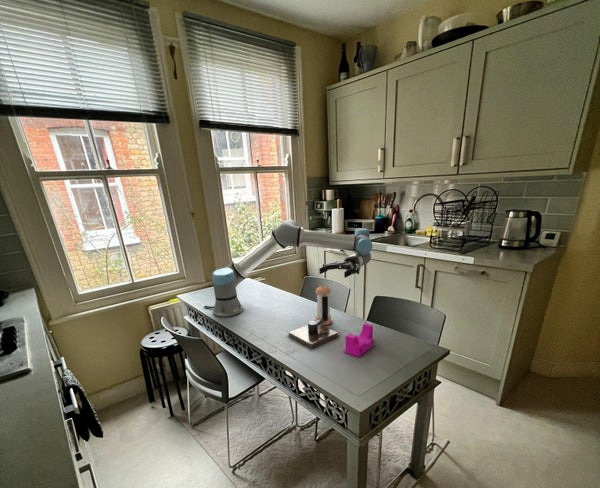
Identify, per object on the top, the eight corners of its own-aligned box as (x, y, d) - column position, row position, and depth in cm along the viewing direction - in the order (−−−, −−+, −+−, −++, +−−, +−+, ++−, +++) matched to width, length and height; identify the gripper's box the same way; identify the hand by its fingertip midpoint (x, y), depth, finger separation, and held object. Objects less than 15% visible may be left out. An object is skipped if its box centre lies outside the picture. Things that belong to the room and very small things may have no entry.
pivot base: (288, 336, 146) (288, 331, 145) (314, 325, 155) (314, 321, 154) (311, 348, 134) (311, 343, 133) (338, 336, 143) (338, 332, 142)
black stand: (313, 335, 141) (312, 304, 135) (306, 332, 144) (304, 302, 138) (330, 325, 149) (330, 295, 143) (323, 323, 152) (322, 294, 146)
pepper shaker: (333, 321, 158) (333, 285, 150) (324, 326, 153) (323, 289, 145) (322, 318, 162) (321, 282, 154) (313, 322, 158) (312, 286, 150)
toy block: (358, 356, 126) (358, 340, 123) (345, 351, 130) (345, 335, 127) (377, 342, 136) (378, 327, 133) (364, 338, 140) (365, 323, 137)
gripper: (375, 272, 159) (356, 284, 143) (332, 267, 172) (310, 277, 157) (376, 257, 156) (356, 268, 140) (332, 253, 169) (310, 262, 154)
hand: (332, 272), depth 148 cm, fingers open, 13 cm apart
